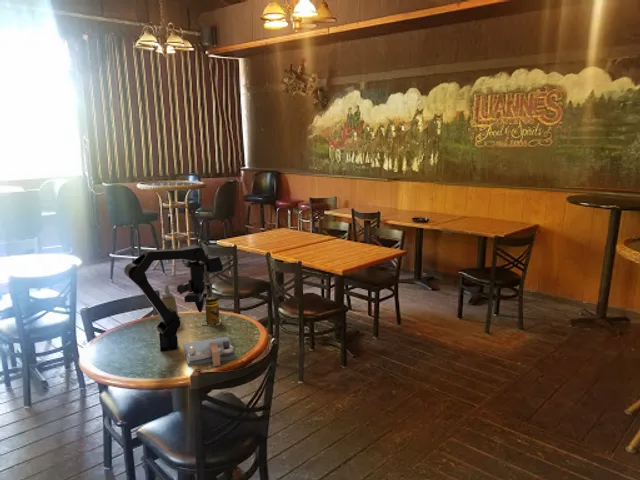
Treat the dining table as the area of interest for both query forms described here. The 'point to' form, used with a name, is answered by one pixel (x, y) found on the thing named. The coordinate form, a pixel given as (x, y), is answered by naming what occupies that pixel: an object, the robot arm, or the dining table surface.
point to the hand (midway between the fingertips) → (200, 311)
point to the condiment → (212, 311)
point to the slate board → (205, 346)
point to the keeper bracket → (215, 353)
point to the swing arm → (209, 352)
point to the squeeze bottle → (169, 299)
